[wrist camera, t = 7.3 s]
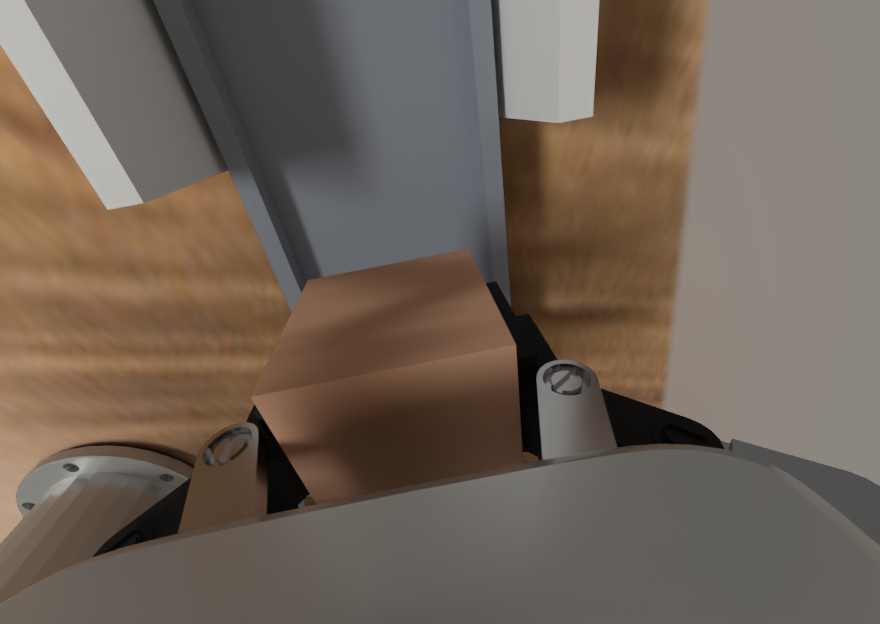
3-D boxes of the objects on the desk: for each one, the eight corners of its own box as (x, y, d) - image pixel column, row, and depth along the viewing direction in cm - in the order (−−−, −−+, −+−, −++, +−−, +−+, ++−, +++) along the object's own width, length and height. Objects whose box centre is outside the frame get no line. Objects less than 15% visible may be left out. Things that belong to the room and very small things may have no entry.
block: (468, 248, 11) (515, 344, 7) (483, 371, 13) (525, 497, 9) (308, 280, 11) (250, 397, 6) (354, 396, 13) (335, 535, 9)
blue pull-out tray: (528, 358, 23) (584, 460, 16) (320, 402, 23) (292, 522, 16) (509, -143, 12) (658, -458, 5) (99, -71, 12) (-289, -307, 5)
